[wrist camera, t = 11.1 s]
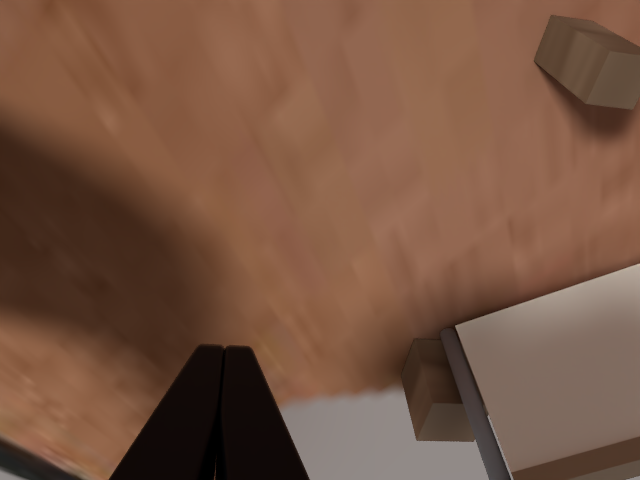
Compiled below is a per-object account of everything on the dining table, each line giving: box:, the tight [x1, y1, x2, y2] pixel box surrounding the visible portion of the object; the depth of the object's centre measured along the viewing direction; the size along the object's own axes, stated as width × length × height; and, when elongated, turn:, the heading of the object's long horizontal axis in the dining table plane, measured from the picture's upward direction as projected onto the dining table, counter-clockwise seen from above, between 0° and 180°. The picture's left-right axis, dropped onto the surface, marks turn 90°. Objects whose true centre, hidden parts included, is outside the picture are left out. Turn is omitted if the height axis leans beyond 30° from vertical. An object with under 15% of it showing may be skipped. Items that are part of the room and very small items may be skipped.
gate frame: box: [401, 15, 640, 442], centre depth 23 cm, size 3×19×4 cm, turn 172°
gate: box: [440, 263, 640, 480], centre depth 23 cm, size 1×14×9 cm, turn 113°
